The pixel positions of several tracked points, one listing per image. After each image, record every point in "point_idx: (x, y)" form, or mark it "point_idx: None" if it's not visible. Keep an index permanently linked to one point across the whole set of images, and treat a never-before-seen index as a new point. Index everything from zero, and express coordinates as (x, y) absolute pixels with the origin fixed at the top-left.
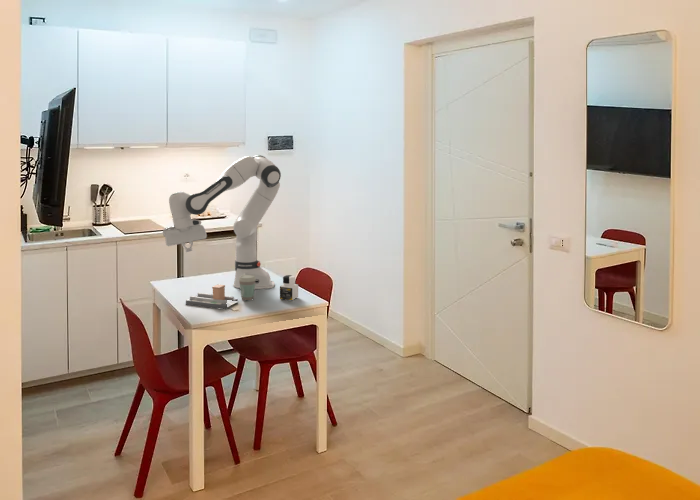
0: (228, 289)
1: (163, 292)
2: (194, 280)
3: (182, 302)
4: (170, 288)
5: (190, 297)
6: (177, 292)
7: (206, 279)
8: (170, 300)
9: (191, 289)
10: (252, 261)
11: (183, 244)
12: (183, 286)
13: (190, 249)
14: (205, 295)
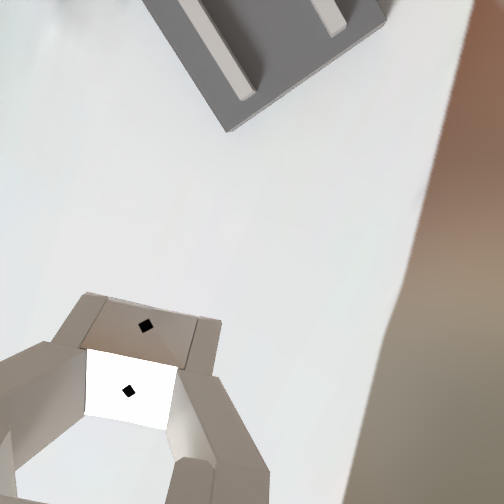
0: (8, 219)
1: (369, 388)
2: (119, 491)
3: (379, 92)
4: (295, 436)
5: (344, 20)
6: (297, 339)
7: (58, 471)
8: (424, 192)
9: None
10: None
11: (235, 500)
12: None
13: (110, 313)
14: (215, 25)
